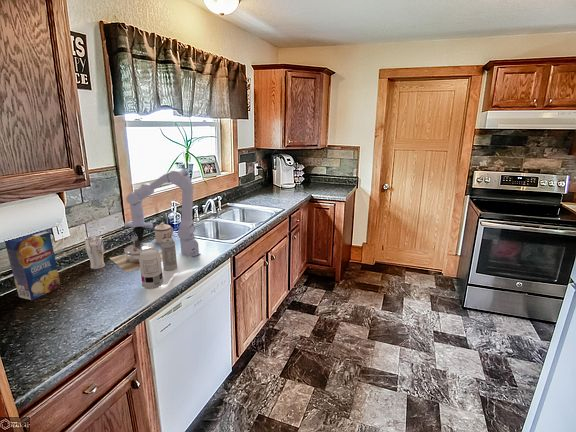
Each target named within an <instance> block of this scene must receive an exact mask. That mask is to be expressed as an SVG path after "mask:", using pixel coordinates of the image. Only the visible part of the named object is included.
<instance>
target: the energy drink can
mask: <svg viewBox="0 0 576 432" xmlns="http://www.w3.org/2000/svg"><path fill="white" fill-rule="evenodd" d="M160 247H161V248H160V249H161V252H162V259H163V261H162V266H163V268H162V269H163V270H164V272H172V271H175V270H177V269H178V261H177V251H176V243H175V241H174V239H173V237H172V238H166V239H163V240H162V243H160Z"/></svg>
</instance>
